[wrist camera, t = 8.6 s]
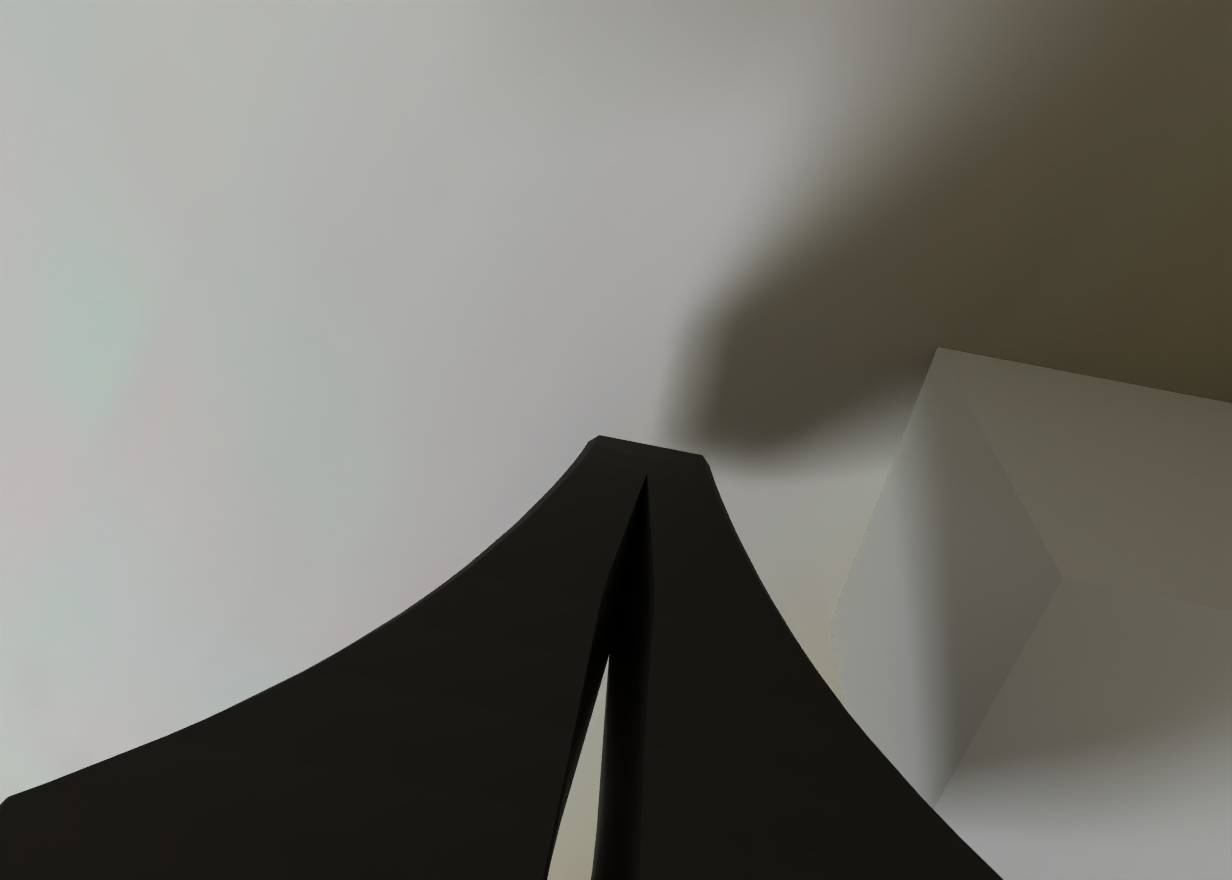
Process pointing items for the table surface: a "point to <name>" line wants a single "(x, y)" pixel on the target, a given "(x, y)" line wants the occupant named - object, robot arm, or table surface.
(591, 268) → the table surface
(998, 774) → the plug
